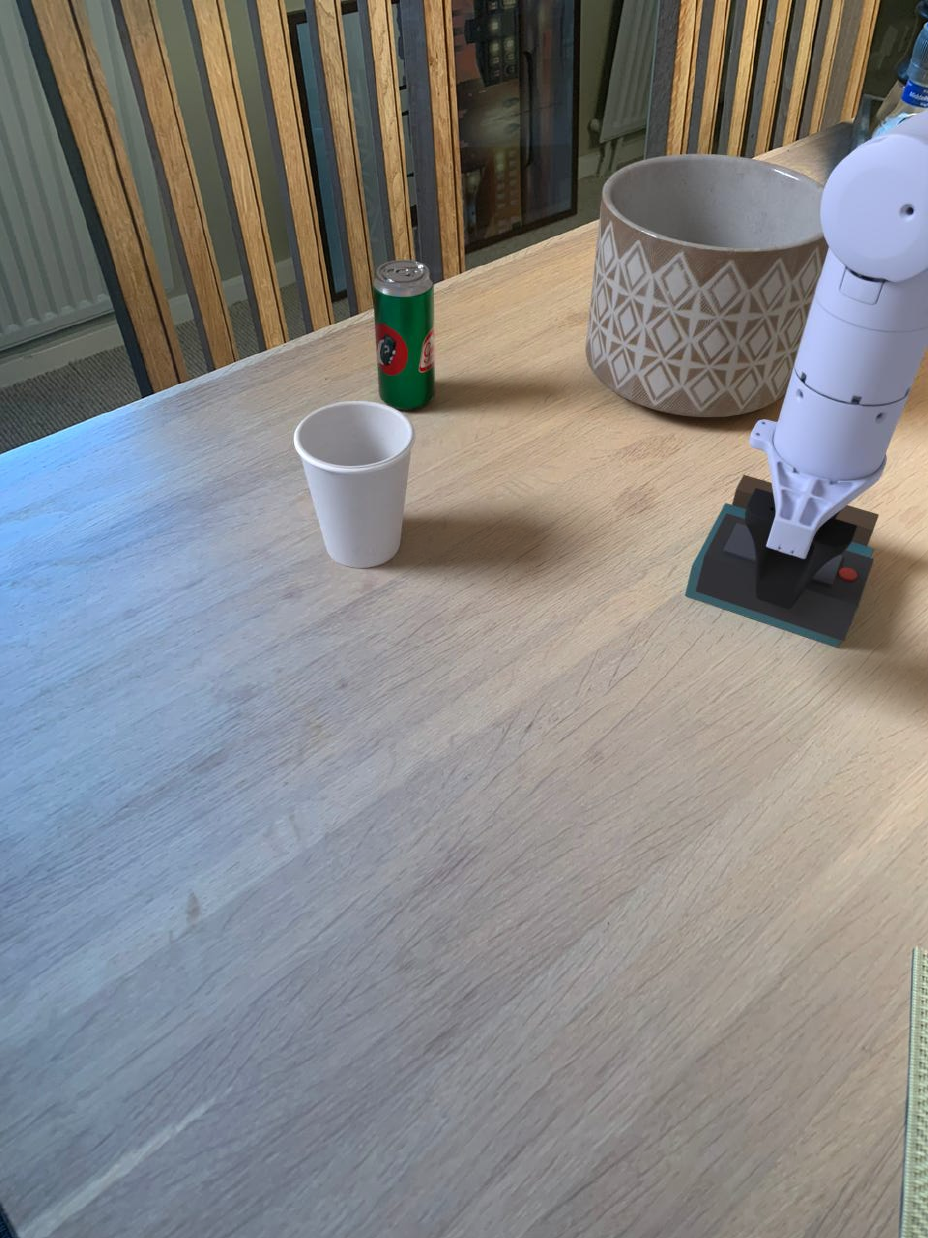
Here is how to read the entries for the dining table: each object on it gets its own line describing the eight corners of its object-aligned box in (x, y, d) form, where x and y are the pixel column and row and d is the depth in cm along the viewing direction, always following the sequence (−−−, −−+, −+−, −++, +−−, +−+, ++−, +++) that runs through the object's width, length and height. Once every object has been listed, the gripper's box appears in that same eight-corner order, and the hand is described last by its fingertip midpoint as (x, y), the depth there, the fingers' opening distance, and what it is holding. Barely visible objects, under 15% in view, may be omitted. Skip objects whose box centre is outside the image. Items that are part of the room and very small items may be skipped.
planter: (694, 460, 83) (734, 273, 72) (541, 364, 94) (554, 188, 82) (834, 384, 92) (890, 206, 80) (680, 304, 103) (709, 137, 91)
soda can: (434, 414, 88) (432, 286, 79) (377, 413, 88) (369, 284, 79) (436, 383, 91) (434, 257, 83) (381, 382, 91) (374, 256, 83)
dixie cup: (300, 517, 77) (286, 407, 70) (405, 501, 79) (401, 392, 72) (316, 588, 72) (302, 477, 65) (429, 570, 73) (427, 459, 66)
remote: (858, 594, 61) (875, 556, 58) (843, 642, 58) (859, 603, 56) (716, 548, 63) (726, 510, 61) (694, 591, 61) (704, 553, 58)
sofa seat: (837, 648, 68) (857, 601, 65) (684, 596, 72) (695, 549, 68) (867, 562, 74) (886, 516, 71) (725, 518, 78) (737, 472, 75)
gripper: (806, 294, 56) (752, 488, 65) (733, 425, 46) (682, 627, 56) (937, 325, 53) (860, 520, 63) (888, 469, 44) (807, 671, 54)
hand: (784, 573), depth 59 cm, fingers closed on remote, 4 cm apart
